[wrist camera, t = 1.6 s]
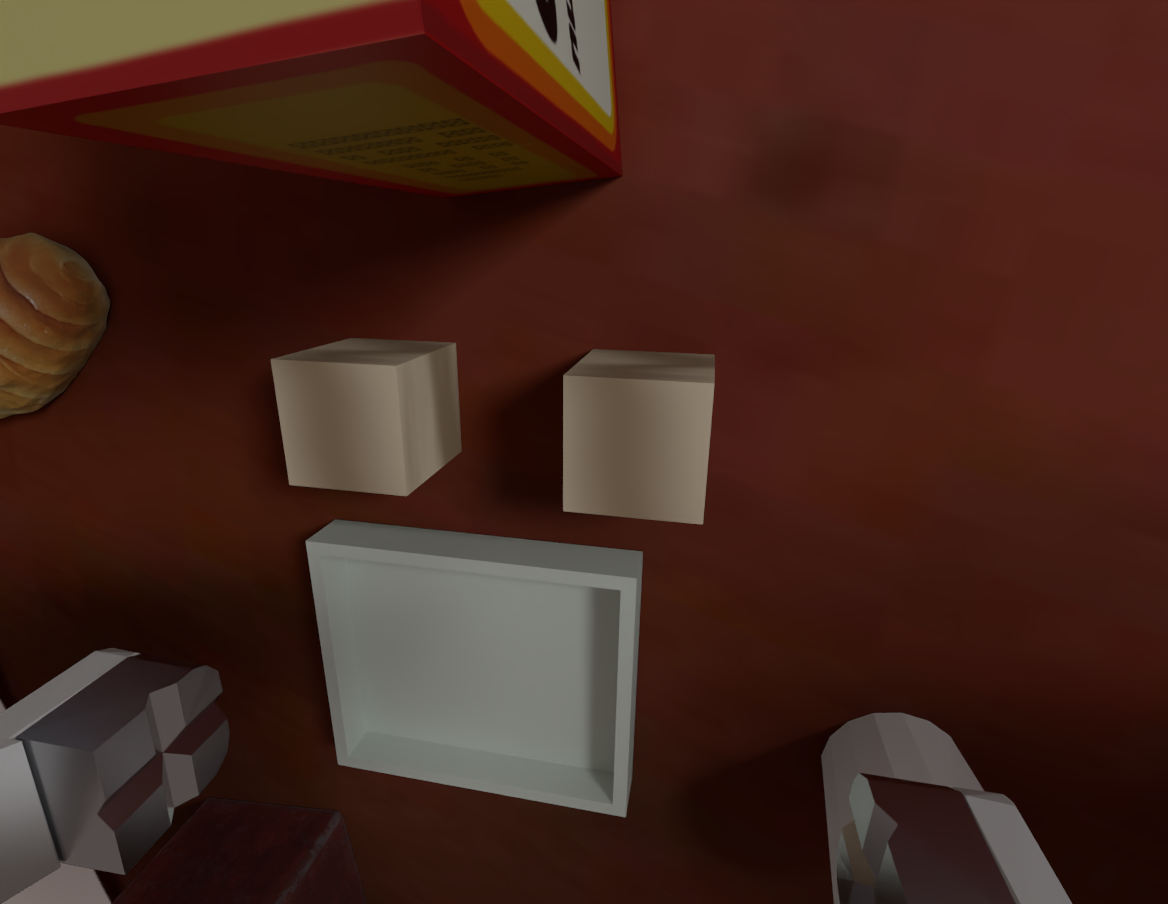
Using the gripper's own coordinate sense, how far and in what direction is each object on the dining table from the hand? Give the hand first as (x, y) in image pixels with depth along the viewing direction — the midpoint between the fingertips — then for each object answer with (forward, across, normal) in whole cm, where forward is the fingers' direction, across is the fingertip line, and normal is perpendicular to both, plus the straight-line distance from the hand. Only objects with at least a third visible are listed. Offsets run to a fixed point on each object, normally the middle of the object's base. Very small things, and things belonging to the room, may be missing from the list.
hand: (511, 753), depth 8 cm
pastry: (+18, +28, -2) cm, 33 cm away
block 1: (+18, +10, 0) cm, 20 cm away
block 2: (+17, 0, 0) cm, 17 cm away
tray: (+17, +6, +12) cm, 22 cm away
